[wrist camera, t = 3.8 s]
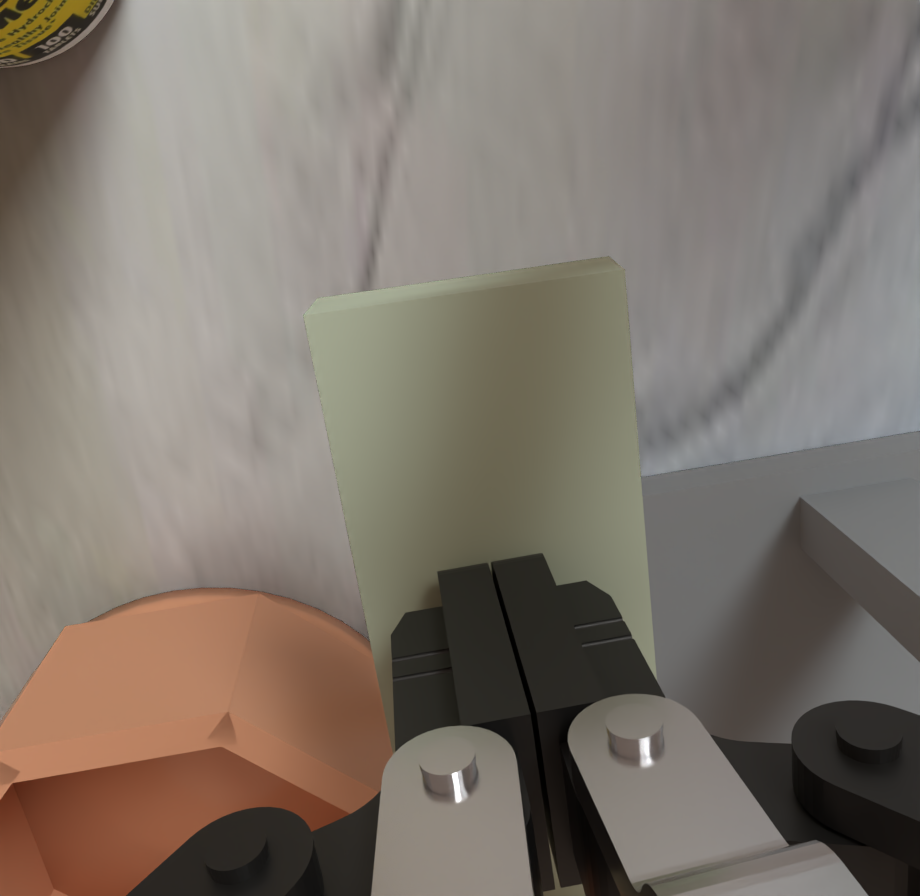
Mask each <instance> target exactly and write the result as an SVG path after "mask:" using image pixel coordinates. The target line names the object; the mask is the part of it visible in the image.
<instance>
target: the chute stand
mask: <svg viewBox="0 0 920 896" xmlns="http://www.w3.org/2000/svg"><path fill="white" fill-rule="evenodd" d="M641 484H642V497H643V510H644V522H645V535H646V548H647V561H648V573H649V586H650V599H651V612H652V625H653V637H654V650H655V663H656V676H657V682H658V684H659V686H660V688H661V690H662V692H663V693H664V695H665V697H666V698H667V699H670V700H672V701H675V702H677V703H679V704H681V705H683V706H684V707H686V708H687V709H689V710H690V711H691V712H692V713H694V715H695V716H696V717H697V718H698V719H699V720H700V722H701V723H702V725H703V726H704V727H705V729H706V730H707V732H708V733H709V734H710V735H714V736H717V737H721V738H725V739H730V740H736V741H746V742H765V743H788V744H791V736H792V730H793V727H794V725H795V723H796V722H797V721H798V719H799V718H800V717H801V716H802V715H803V714H805V713H806V712H808V711H809V710H811V709H813V708H815V707H818V706H820V705H823V704H827V703H831V702H837V701H846V700H860V701H871V702H877V703H882V704H887V705H890V706H894V707H897V708H900V709H903V710H906V711H909V712H912V713H915V714H917V715H920V431H917V432H911V433H905V434H899V435H893V436H887V437H881V438H875V439H869V440H863V441H857V442H851V443H845V444H839V445H833V446H827V447H821V448H815V449H809V450H803V451H797V452H791V453H785V454H779V455H773V456H767V457H761V458H755V459H749V460H743V461H737V462H731V463H725V464H719V465H713V466H707V467H701V468H695V469H689V470H683V471H677V472H671V473H665V474H660V475H654V476H648V477H642V478H641Z"/></svg>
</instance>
